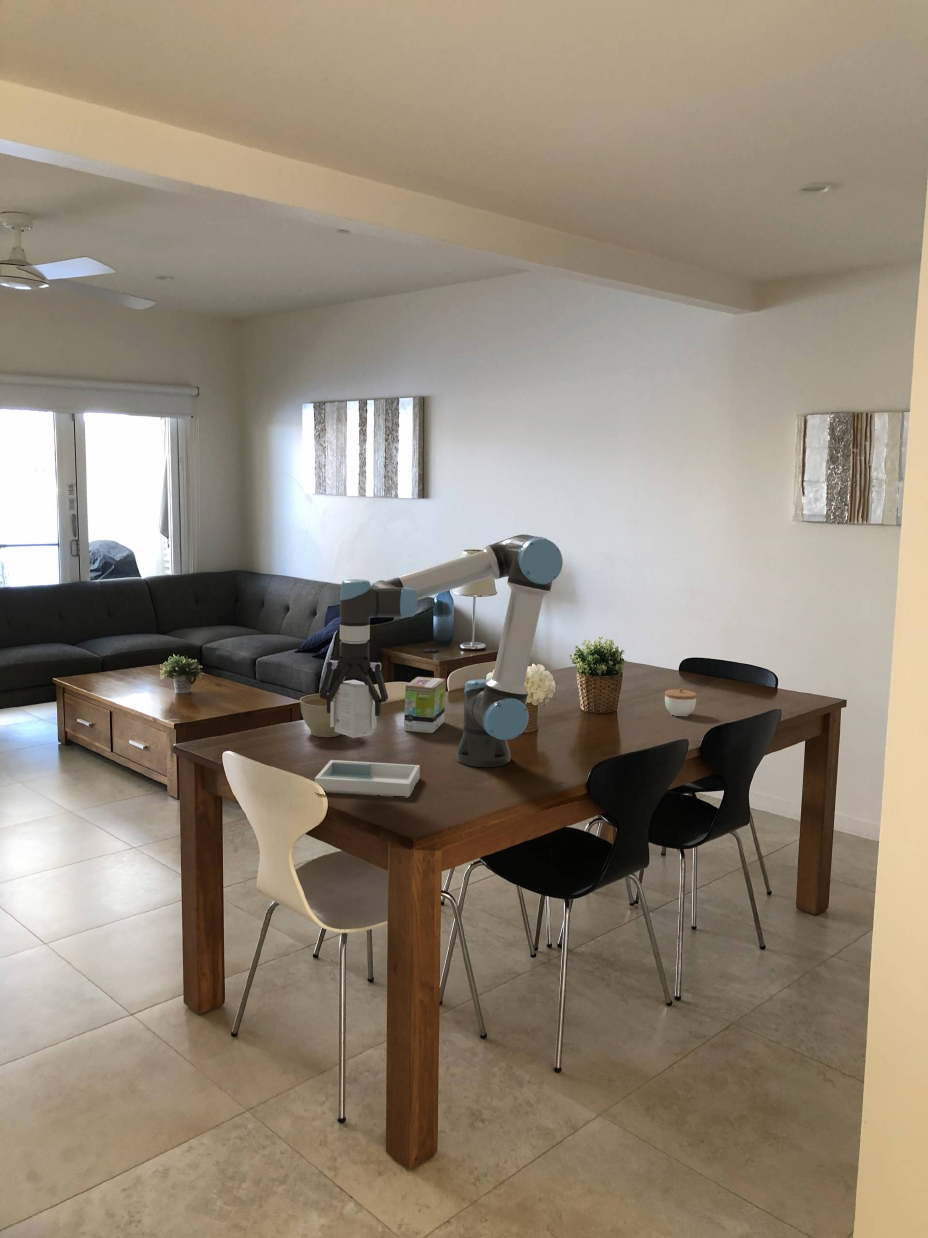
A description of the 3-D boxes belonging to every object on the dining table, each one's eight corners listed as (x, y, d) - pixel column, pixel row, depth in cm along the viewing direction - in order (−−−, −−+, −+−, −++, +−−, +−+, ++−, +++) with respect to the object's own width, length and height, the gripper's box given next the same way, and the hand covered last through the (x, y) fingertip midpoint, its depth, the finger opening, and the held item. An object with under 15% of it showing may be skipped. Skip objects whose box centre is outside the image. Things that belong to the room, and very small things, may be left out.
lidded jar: (701, 717, 334) (703, 690, 333) (675, 719, 330) (676, 692, 329) (683, 710, 344) (685, 684, 343) (657, 712, 340) (659, 685, 339)
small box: (373, 734, 251) (373, 684, 249) (353, 738, 247) (353, 687, 245) (353, 728, 257) (354, 679, 255) (333, 731, 253) (334, 682, 251)
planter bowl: (289, 732, 301) (289, 698, 300) (331, 724, 312) (332, 691, 311) (320, 744, 290) (320, 708, 288) (363, 734, 301) (364, 700, 300)
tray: (419, 778, 260) (419, 765, 259) (409, 797, 244) (409, 784, 244) (330, 772, 263) (330, 760, 262) (314, 791, 247) (314, 778, 246)
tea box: (434, 734, 305) (435, 687, 302) (403, 731, 306) (403, 685, 304) (445, 722, 319) (446, 677, 317) (415, 720, 321) (415, 675, 319)
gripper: (401, 640, 251) (399, 725, 254) (314, 636, 253) (314, 720, 257) (395, 645, 243) (394, 733, 247) (307, 641, 246) (306, 727, 249)
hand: (353, 726), depth 252 cm, fingers closed on small box, 10 cm apart
